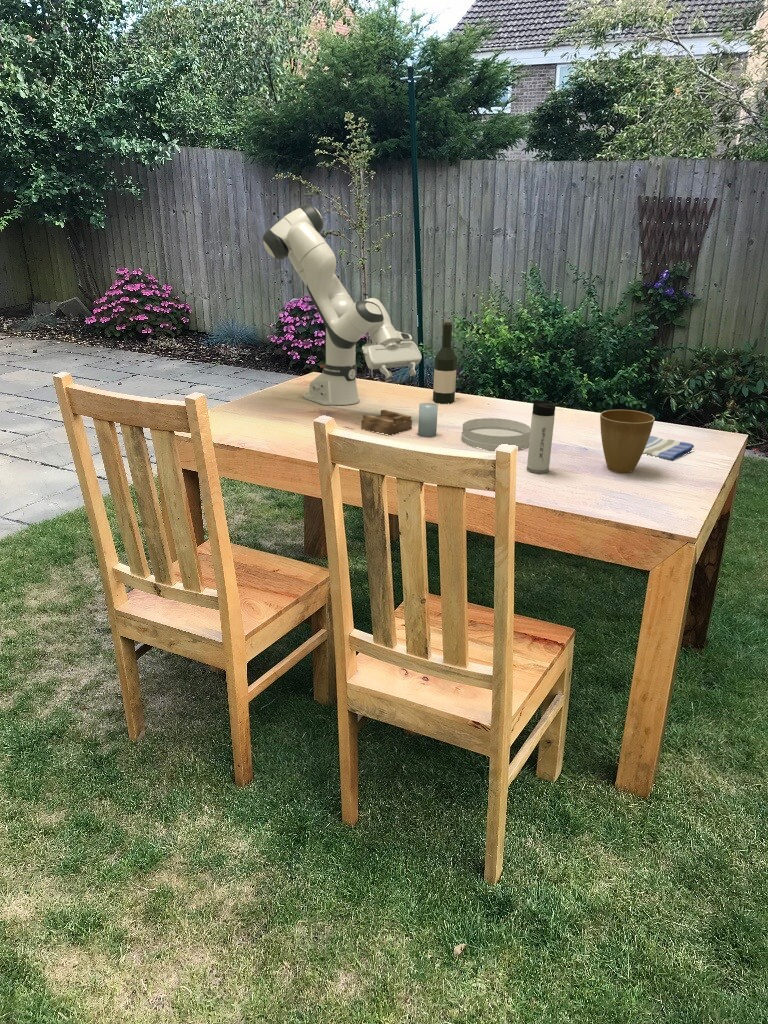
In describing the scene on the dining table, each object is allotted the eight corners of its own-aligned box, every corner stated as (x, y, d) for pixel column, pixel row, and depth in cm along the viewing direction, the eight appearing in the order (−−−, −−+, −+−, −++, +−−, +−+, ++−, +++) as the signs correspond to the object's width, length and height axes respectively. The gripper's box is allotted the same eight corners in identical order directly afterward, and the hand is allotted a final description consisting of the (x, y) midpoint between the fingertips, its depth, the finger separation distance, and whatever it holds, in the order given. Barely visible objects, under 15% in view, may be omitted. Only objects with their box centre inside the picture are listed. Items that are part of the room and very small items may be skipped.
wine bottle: (454, 399, 304) (459, 321, 293) (454, 404, 297) (459, 324, 286) (433, 398, 305) (437, 320, 294) (432, 403, 297) (436, 323, 286)
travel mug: (532, 465, 229) (539, 398, 222) (552, 470, 225) (560, 402, 218) (521, 470, 224) (528, 401, 217) (542, 475, 221) (549, 405, 213)
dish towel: (627, 436, 263) (628, 428, 262) (695, 451, 248) (697, 443, 247) (601, 446, 251) (602, 437, 250) (671, 463, 236) (672, 454, 235)
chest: (361, 429, 261) (361, 414, 259) (384, 422, 270) (384, 408, 268) (388, 436, 254) (389, 421, 252) (411, 429, 263) (412, 414, 261)
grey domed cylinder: (414, 434, 256) (415, 405, 253) (425, 431, 260) (426, 402, 257) (428, 438, 253) (430, 408, 249) (439, 435, 257) (441, 405, 253)
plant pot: (606, 458, 237) (613, 406, 232) (654, 468, 229) (662, 415, 223) (584, 469, 227) (591, 415, 221) (633, 481, 218) (642, 425, 212)
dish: (533, 436, 259) (534, 421, 257) (526, 455, 239) (528, 439, 238) (467, 429, 265) (468, 415, 263) (455, 447, 245) (456, 432, 243)
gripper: (363, 338, 256) (378, 373, 252) (414, 334, 266) (430, 368, 262) (356, 350, 261) (371, 384, 257) (407, 345, 271) (422, 378, 267)
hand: (401, 376), depth 260 cm, fingers open, 8 cm apart
